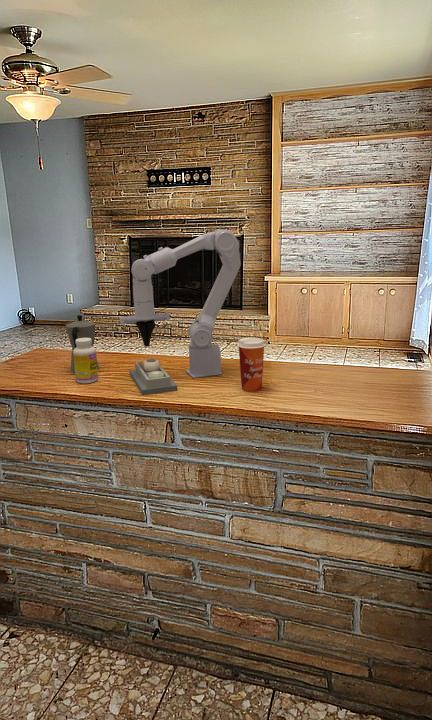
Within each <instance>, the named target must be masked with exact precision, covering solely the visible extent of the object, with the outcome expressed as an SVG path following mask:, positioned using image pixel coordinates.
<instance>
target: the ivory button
mask: <svg viewBox="0 0 432 720" xmlns="http://www.w3.org/2000/svg"><path fill="white" fill-rule="evenodd" d="M143 361H144V372H146V373H148V372H152V371H159V364H160V361H159V359H157V358H147V359H145V360H143Z"/></svg>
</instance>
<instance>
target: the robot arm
mask: <svg viewBox="0 0 432 720" xmlns="http://www.w3.org/2000/svg"><path fill="white" fill-rule="evenodd" d="M201 250H209V251H214V250H215V251H216V252H217V254H218V256H219V258H220V262H221V263H222V266H221V268H220V270H219V272H218V273H217V274H218V275H217V276H216V279H215V281H214V284H212V285H213V286H212V288H211V290H210V292H209V294H208V297H207V299H206V300H205V302H204V305H203V308H202V309H201V312H199V314H198V315H197V317H196V319H195V320H194V322H192V323H191V324H190V325H189V327H188V335H189V338H190V339H191V340H190V342H189V343H188V357H189V358H188V359H189V368H188V369H185V372H186V373H188V375H189V376H190V377H191V378H193V379H195V378H204V377H210V376H211V377H212V376H218V375H219V376H220V375H222V374H223V371H222V354H221V347H220V346H219V345H218V343H213V342H212V340H213V331H214V329H215V327H216V326H215V325H216V319H217V318H218V316H219V313H220V311H221V309H222V307H223V305H224V303H225V301H226V298H227V296H228V294H229V293H230V292H229V291H230V290H231V287H232V286H233V283H234V281H235V278H236V276H237V274H238V273H239V270H240V267H241V256H240V255H241V254H240V242H239V240H238V238H237V237H236V235H235V234H234V232H233V231H231V230H228V229H224V228H219V229H217V230H215V231H211V232H207V233H204V234H200V236H197V237H195V238H193V239H192V240H189V241H187V242H185V243H183V244H181V245H179V246H177V247H175V248H170V247H168V246H165V247H164V248H163V246H160V247H159V248H158V250H157V251H156V252H153V253H151V254H148V255H147V254H145V255H143V258H140V259H136V260H135V261H133V263H132V265H131V274H132V284H133V285H132V292H133V293H132V294H133V307H134V308H133V309H134V315H127V316H120V317H119V325H121V326H123V325H129V324H135V326H136V328H137V329H138V331H139V334H140V336H141V339H142V343H143V346H144V347H147V348H148V347H150V346H151V345H150V344H151V338H152V334H153V331H154V329H155V327H156V322H159V321H160V322H161V321H162V322H163V321H168V322H169V321H170V313H169V312H166V313H165V312H163V313H155V303H154V289H153V287H154V286H153V284H152V275H157V274H159V273H162V272H164V271H166V270H169V269H170V268H173V267H175V266H176V264H177V261H178V260H179V259H181V258H184V257H187V256H190V255H192V254H193V253H197V252H199V251H201Z"/></svg>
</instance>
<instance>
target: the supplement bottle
mask: <svg viewBox="0 0 432 720" xmlns="http://www.w3.org/2000/svg"><path fill="white" fill-rule="evenodd" d="M75 341H76V345H77V347H76V348H75V349H74V350H73V356H74V365H75V373H74V375H75V381H76V382H77V383H78V384H92V383H94V382H97V381H98V380H99V369H98V367H97V362H98V359H97V349H96V348H95V347H94V345H93V346H91V344H92V339H91V338H79V339H76V340H75Z"/></svg>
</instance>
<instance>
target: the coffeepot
mask: <svg viewBox="0 0 432 720" xmlns="http://www.w3.org/2000/svg"><path fill="white" fill-rule="evenodd" d="M76 317H77V320H76V321H73V322H70V323H68V324H65V328H66V333H67V337H68V339H69V343H70V346H71V350H72V351H71V355H70V356H71V357H70V359H71V360H70V371H71V372H72V373H73V374H75V365H74V356H73V350H74V349H75V348H76V347H77V345H76V341H75V340H76V339H79V338H91V339H92V344H91V346H93V347H94V345H95V339H96V336H95V335H96V323H95V322H94V321H88V320H83V314H82V315H81V314H78V315H76ZM97 367H98V370H100V366H99V363H98V361H97Z"/></svg>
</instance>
